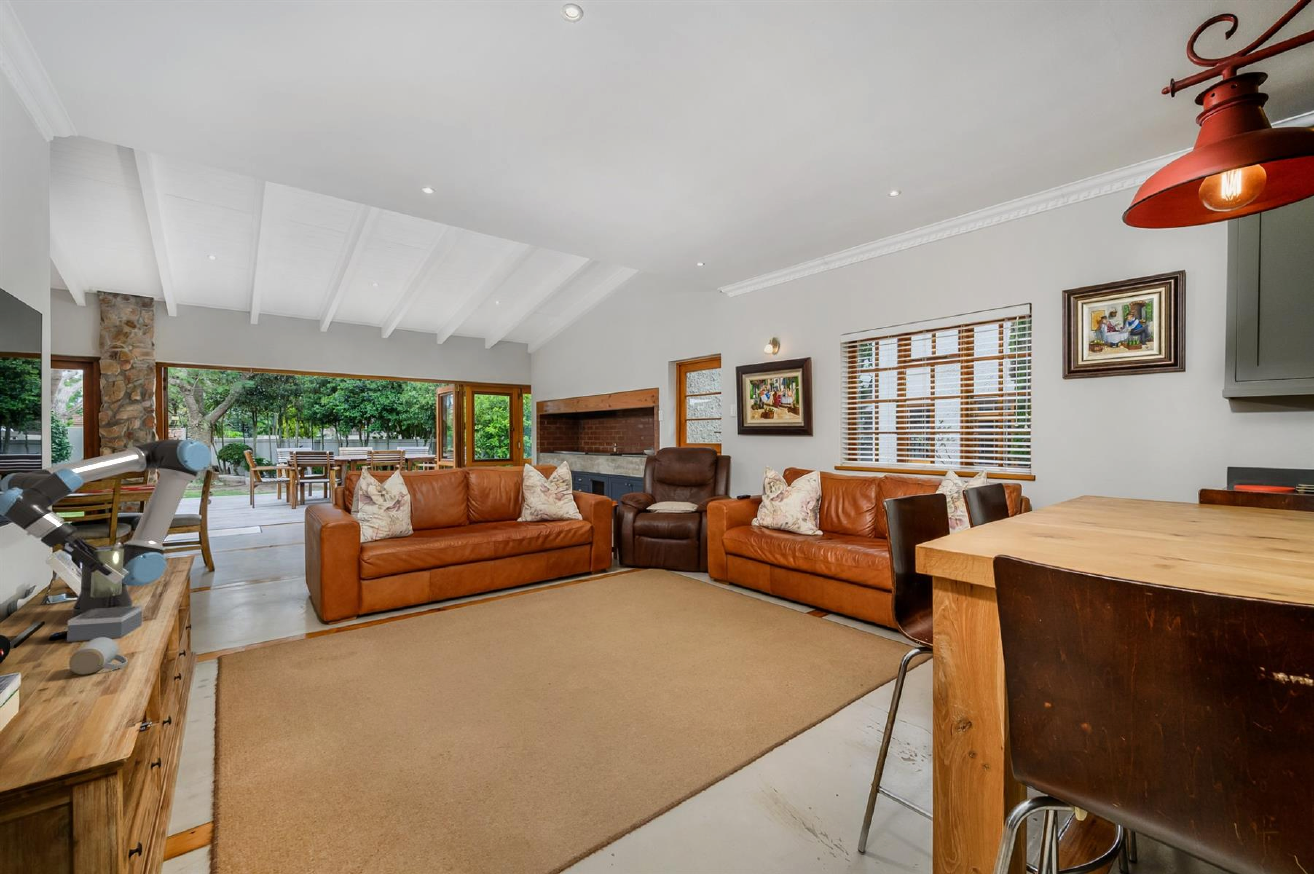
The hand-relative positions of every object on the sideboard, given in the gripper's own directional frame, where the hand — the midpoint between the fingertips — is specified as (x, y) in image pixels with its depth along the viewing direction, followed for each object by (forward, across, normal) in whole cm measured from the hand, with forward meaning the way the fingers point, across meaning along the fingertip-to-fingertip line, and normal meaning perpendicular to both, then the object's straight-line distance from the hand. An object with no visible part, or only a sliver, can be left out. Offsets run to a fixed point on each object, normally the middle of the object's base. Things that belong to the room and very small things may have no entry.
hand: (122, 577), depth 179 cm
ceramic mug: (+13, +36, -12) cm, 40 cm away
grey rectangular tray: (+10, -2, -14) cm, 18 cm away
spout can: (+1, 0, -6) cm, 6 cm away
